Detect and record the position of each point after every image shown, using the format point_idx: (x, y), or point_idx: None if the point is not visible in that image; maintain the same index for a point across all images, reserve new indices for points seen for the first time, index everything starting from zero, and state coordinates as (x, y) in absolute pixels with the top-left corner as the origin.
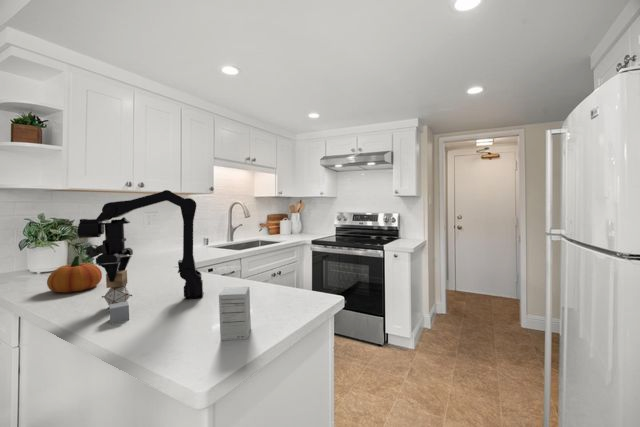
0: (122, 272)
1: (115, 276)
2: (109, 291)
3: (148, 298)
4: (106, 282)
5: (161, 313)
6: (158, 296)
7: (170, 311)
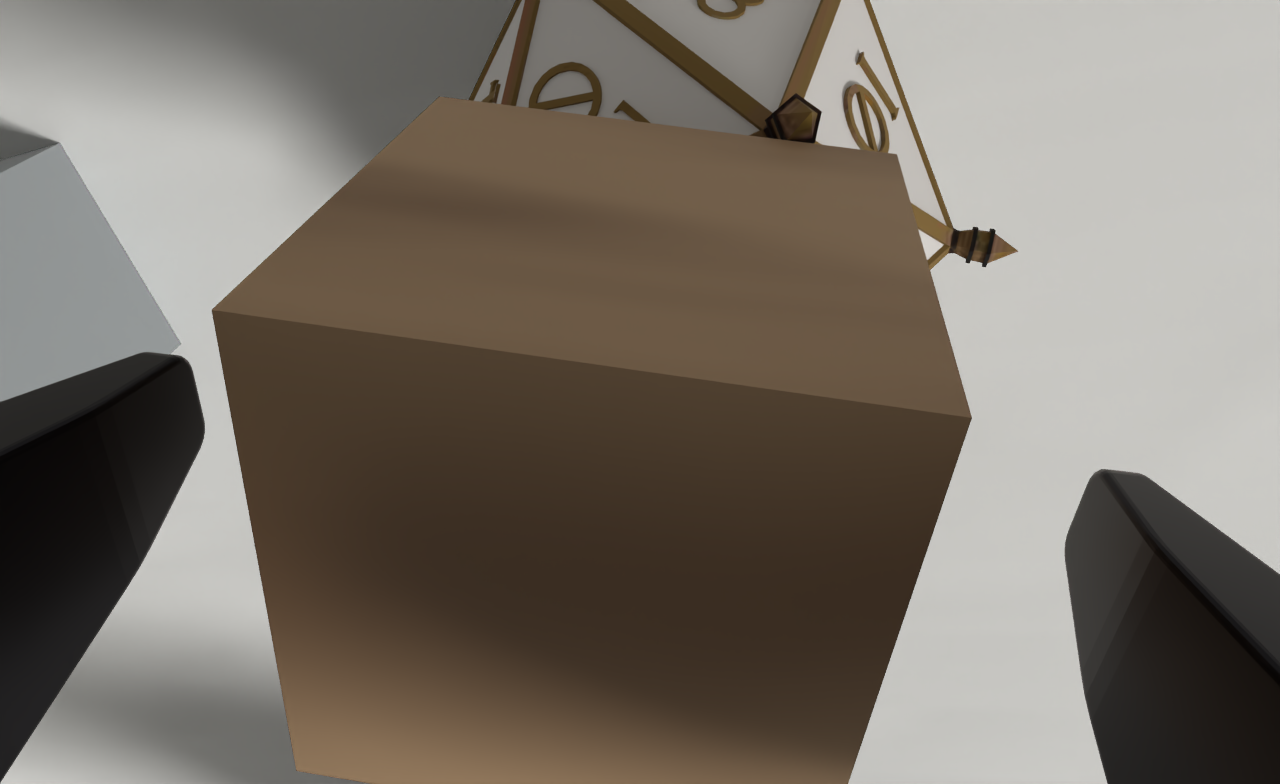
0: (388, 778)
1: (84, 588)
2: (576, 102)
3: (952, 507)
4: (376, 162)
5: (187, 639)
6: (977, 615)
7: (234, 701)
